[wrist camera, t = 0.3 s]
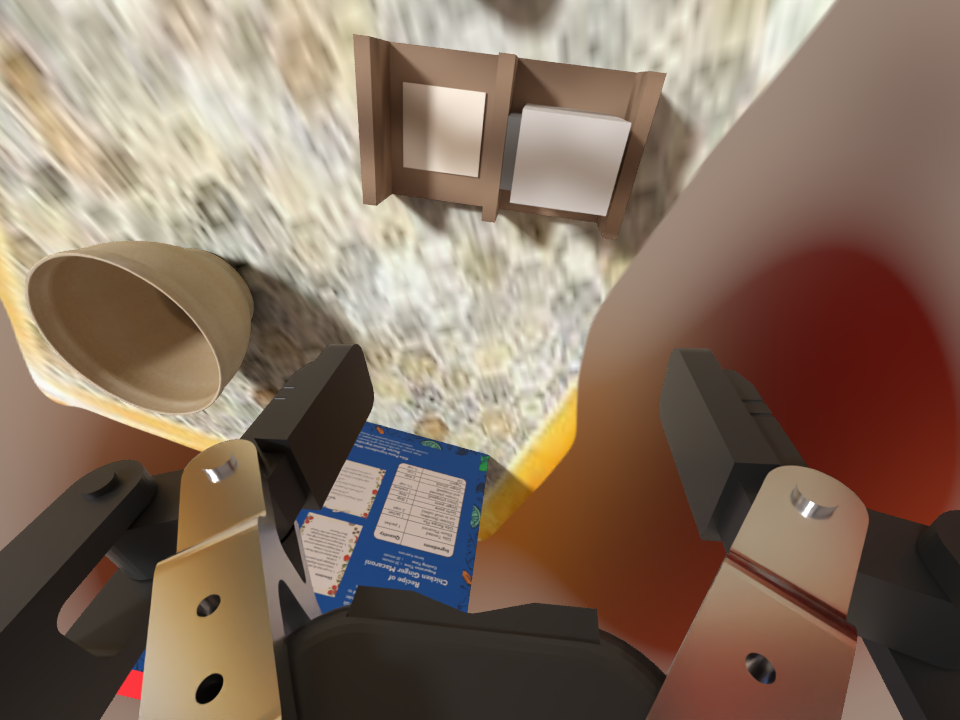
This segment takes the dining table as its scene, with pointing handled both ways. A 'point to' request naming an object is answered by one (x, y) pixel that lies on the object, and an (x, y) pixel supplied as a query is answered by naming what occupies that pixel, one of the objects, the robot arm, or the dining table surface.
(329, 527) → the pasta box
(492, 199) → the rail
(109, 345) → the planter bowl
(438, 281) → the dining table surface
